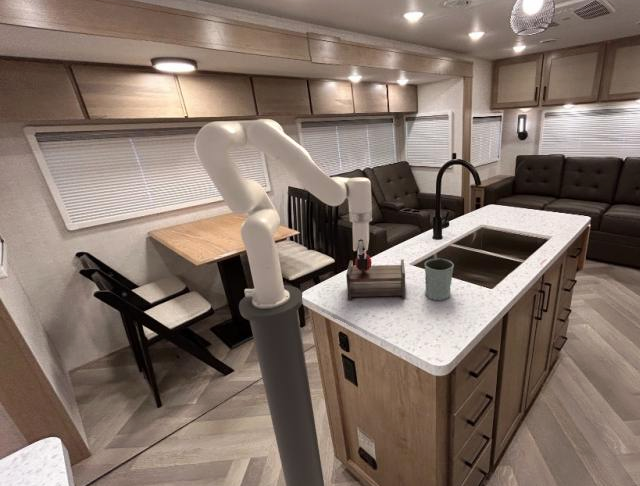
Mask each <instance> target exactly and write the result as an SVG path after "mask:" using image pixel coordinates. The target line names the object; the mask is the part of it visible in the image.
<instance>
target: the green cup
mask: <svg viewBox="0 0 640 486" xmlns="http://www.w3.org/2000/svg"><path fill="white" fill-rule="evenodd" d="M454 267H455V264H454V263H453V262H452V261H451V260H449V259H446V258H431V259H428V260H426V261H425V262H424V272H425V273H424V274H425V276H424V280H425V295H426V297H428V298H429V299H431V300H434V301H444V300H447V299H448V298H449V297H450V295H451V286H452V281H453V279H452V278H453V273H454Z"/></svg>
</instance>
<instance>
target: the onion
mask: <svg viewBox="0 0 640 486" xmlns="http://www.w3.org/2000/svg"><path fill="white" fill-rule="evenodd" d="M363 253H364V252H363ZM357 258H358V255H357V256H356V258H355V260H354V266H356V267H357V269H358V260H357ZM366 258H367V269H359V270H360V271H362V272H365V271H367V270H368V269H369V268H370V267H371V266H372V258H371V256H370V255H369V254H368V255H367V254H366Z"/></svg>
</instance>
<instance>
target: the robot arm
mask: <svg viewBox="0 0 640 486" xmlns="http://www.w3.org/2000/svg"><path fill="white" fill-rule="evenodd" d="M252 149H257V150H258V151H260V152H261V153H263V154H264V155H265V156H267V157H268V158H270V159H271V160H272V161H274V162H275V163H277V165H279V166H280V167H282V168H283V169H284V170H286V171H287V172H288V173H289V174H290V175H291V176H292V177H293V178H294V179H295V180H296V181H297V182H298V183H299V184H300V185H301V187H303V188H304V189H305V190H306V191H307V192H309V193H310V194H311V195H313V196H314V197H315V198H317V199H318V200H319V201H320V202H322V203H323V204H325V205H327V206H331V207H338V206H341V205H342V204H343V203H344V202H345V201H346V199H347V200H348V201H347V202H348V216H349V222H351V223H352V250H353V251H354V252H357V256H358V258H357V257H356V258H357V260H358V269H367V258H366V254H367V255H368V256H369V244H370V222H372V221H373V206H372V205H373V203H372V184H371V183H372V182H371V180H370V179H369V178H367V177H363V176H362V177H359V176H358V177H342V176H332V177H330V175H328V174H327V173H326V172H324V171H323V170H322V169H321V168H320V167H318V165H317V164H316V163H315V162H314V161H313V159H312V157H311V154H309V152H308V151H307V150H306V149H305V147H303V146H301V145H300V144H299V143H298V142H296V141H295V140H294V139H293V138H291V136H289V135H287V134H286V133H285V132H284V129H283V127H282V125H280V124H279V123H278V122H277V121H275V120H274V119H271V118H259V119H256V120H226V121H223V120H218V121H211V122H208V123H207V124H205V125H203V126H202V127H201V128H200V129H199V130H198V132H197V133H196V135H195V140H194V152H195V155H196V157H197V160H198V161H199V163H200V164H201V166H202V168H203V170H204V171H205V172H206V174H207V175H208V176H209V178H210V180H211V181H212V183H213V185H214V187H215V188H216V190H217V191H218V193H219V194H220V196H221V198H222V200H223V201H224V203H225V204H226V206H227V208H228V209H229V210H230V211H231V212H232V213H234V214H238V215H245V214H247V215H248V217H247V218H246V219H244V221H243V222H242V224H241V227H240V238H241V240H242V242H243V246H244V248H245V251H246V255H247V260H248V263H249V268H250V269H249V270H250V273H251V278H252V283H253V288H245V289H244V291H243V292H244V297H253V299H252V303H253V305H254V306H255V307H257V308H261V309H269V308H275V307H278V306H280V305H282V304H284V303H286V302H287V301H288V300H289V298H290V294H289V292H288V291H287V290H285V289H284V285H285V284H284V281H283V275H282V269H281V261H280V256H279V255H280V254H279V250H278V247H277V244H276V242H275V241H276V240H275V238H274V236H275V234H276V232H277V231H278V230H279V228H280V226H281V218H280V215H279V213H278V211H277V209H276V206H274V204H273V201H272V200H271V198H270V197H269V195H268V193H267V191H266V190H265V188H264V187H263V186H262V185H261V184H260V183H259V182H258V181H256V180H255V179H251V178H245V177H244V175H243V173H242V172H241V170H240V167H239V166H238V165H237V163H236V162H235V161H234V160H233V158H231V156H230V152H234V151H238V150H239V151H240V150H252ZM363 252H364V253H363Z"/></svg>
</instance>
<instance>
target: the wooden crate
mask: <svg viewBox="0 0 640 486" xmlns="http://www.w3.org/2000/svg"><path fill="white" fill-rule="evenodd" d="M345 277H346V289H347V291H346V292H347V300H348V301H351V300H352V298H357V297H392V296H393V297H395V296H396V297H397V296H401V299H403V300H404V299H406V269H405V259H400V264H390V265H389V264H387V265H385V264H384V265H382V264H381V265H379V264H378V265H377V264H376V265H371V267H370V268H369V269H368V270H367V271H365V272H362V271H360V270H359V269H357V267H356V265H354V261H353V260H349V262H348V265H347V271H346V274H345Z"/></svg>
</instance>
